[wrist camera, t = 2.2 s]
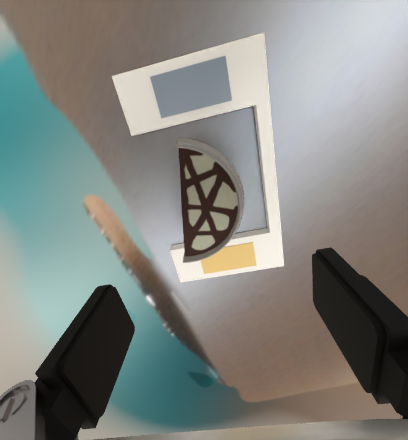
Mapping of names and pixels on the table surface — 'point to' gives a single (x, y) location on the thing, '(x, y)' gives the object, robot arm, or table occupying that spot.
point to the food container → (207, 199)
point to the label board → (203, 108)
